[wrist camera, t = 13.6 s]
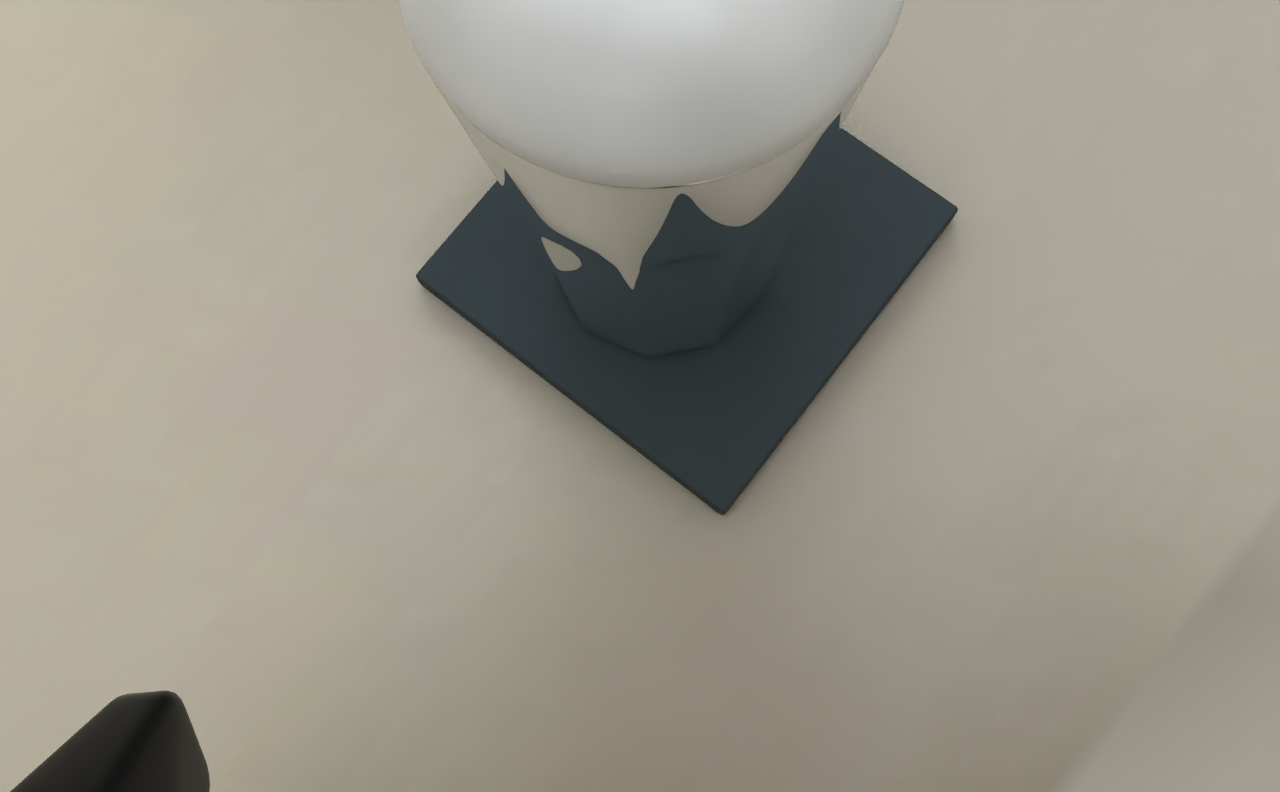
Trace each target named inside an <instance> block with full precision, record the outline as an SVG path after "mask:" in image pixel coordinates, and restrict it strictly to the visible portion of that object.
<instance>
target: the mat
mask: <svg viewBox="0 0 1280 792" xmlns="http://www.w3.org/2000/svg"><path fill="white" fill-rule="evenodd" d="M957 209H958V208H957V207H956V206H955V205H953V204H952V203H950V202H949V201H947V200H946V199H944V198H943V197H941V196H940V195H938V194H937V193H935V192H934V191H933V190H931V189H930V188H928V187H927V186H925V185H924V184H922V183H921V182H919V181H918V180H916V179H915V178H914V177H912V176H911V175H909V174H908V173H906V172H905V171H903V170H902V169H900V168H899V167H897V166H896V165H895V164H893V163H892V162H890V161H889V160H887V159H886V158H884V157H883V156H881V155H880V154H878V153H877V152H875V151H874V150H873V149H871V148H870V147H868V146H867V145H865V144H864V143H862V142H861V141H859V140H858V139H856V138H855V137H854V136H852V135H851V134H849V133H848V132H846V131H845V130H843V129H842V128H841V129H840V130H839V132H838V134H837V136H836V138H835V140H834V142H833V143H832V145H831V147H830V149H829V151H828V153H827V155H826V156H825V158H824V160H823V162H822V164H821V166H820V168H819V170H818V172H817V175H816V177H815V179H814V182H813V184H812V186H811V188H810V191H809V193H808V195H807V197H806V200H805V202H804V204H803V206H802V208H801V211H800V213H799V215H798V217H797V219H796V222H795V224H794V226H793V228H792V230H791V233H790V235H789V237H788V239H787V241H786V243H785V246H784V248H783V250H782V252H781V254H780V256H779V259H778V261H777V263H776V265H775V267H774V269H773V272H772V274H771V276H770V278H769V280H768V282H767V285H766V287H765V289H764V291H763V293H762V295H761V297H760V299H759V300H758V301H757V302H756V303H755V304H754V305H753V306H752V307H751V308H750V309H749V310H748V311H747V312H746V313H745V314H744V315H743V316H742V317H741V318H740V319H739V320H738V321H737V322H736V323H735V324H734V325H733V326H732V327H731V328H730V329H729V330H728V331H727V332H726V333H725V334H724V335H723V336H722V337H721V339H720V340H719V341H718V342H717V343H716V344H715V345H714V346H712V347H706V348H700V349H694V350H689V351H683V352H677V353H672V354H666V355H661V356H656V357H650V358H645V357H643V356H641V355H639V354H636V353H634V352H632V351H630V350H628V349H626V348H624V347H621V346H619V345H617V344H615V343H613V342H611V341H608V340H606V339H604V338H602V337H600V336H597V335H595V334H593V333H591V332H589V331H587V330H585V328H584V327H583V325H582V323H581V322H580V320H579V318H578V316H577V314H576V312H575V310H574V308H573V306H572V305H571V303H570V301H569V299H568V297H567V295H566V294H565V292H564V290H563V288H562V286H561V285H560V283H559V281H558V279H557V277H556V276H555V274H554V272H553V270H552V269H551V267H550V265H549V263H548V261H547V259H546V257H545V255H544V254H543V252H542V250H541V248H540V246H539V244H538V242H537V240H536V239H535V237H534V235H533V233H532V231H531V229H530V227H529V226H528V224H527V222H526V221H525V219H524V218H523V216H522V215H521V213H520V212H519V210H518V209H517V207H516V206H515V204H514V203H513V202H512V200H511V199H510V197H509V196H508V194H507V193H506V192H505V190H504V189H503V187H502V186H501V184H500V183H499V182H498V180H497V182H496V183H495V184H494V185H493V186H492V187H491V188H490V190H489V191H488V192H487V193H486V194H485V195H484V197H483V198H482V199H481V200H480V201H479V202H478V204H477V205H476V206H475V207H474V208H473V209H472V210H471V212H470V213H469V214H468V215H467V216H466V217H465V219H464V220H463V221H462V222H461V223H460V224H459V226H458V227H457V228H456V229H455V230H454V231H453V232H452V234H451V235H450V236H449V237H448V238H447V239H446V241H445V242H444V243H443V244H442V245H441V246H440V248H439V249H438V250H437V251H436V252H435V253H434V255H433V256H432V257H431V258H430V259H429V260H428V261H427V263H426V264H425V265H424V266H423V267H422V268H421V270H420V271H419V272H418V273H417V275H416V277H417V279H418V281H419V282H420V284H421V285H422V286H424V287H425V288H426V289H428V290H429V291H430V292H431V293H433V294H434V295H435V296H437V297H438V298H439V299H441V300H442V301H443V302H444V303H446V304H447V305H448V306H450V307H451V308H452V309H454V310H455V311H456V312H457V313H459V314H460V315H461V316H463V317H464V318H465V319H467V320H468V321H469V322H471V323H472V324H473V325H474V326H476V327H477V328H478V329H480V330H481V331H482V332H484V333H485V334H486V335H487V336H489V337H490V338H491V339H493V340H494V341H495V342H497V343H498V344H499V345H501V346H502V347H503V348H504V349H506V350H507V351H508V352H510V353H511V354H512V355H514V356H515V357H516V358H517V359H519V360H520V361H521V362H523V363H524V364H525V365H527V366H528V367H529V368H531V369H532V370H533V371H534V372H536V373H537V374H538V375H540V376H541V377H542V378H544V379H545V380H546V381H547V382H549V383H550V384H551V385H553V386H554V387H555V388H557V389H558V390H559V391H561V392H562V393H563V394H564V395H566V396H567V397H568V398H570V399H571V400H572V401H574V402H575V403H576V404H577V405H579V406H580V407H581V408H583V409H584V410H585V411H587V412H588V413H589V414H590V415H592V416H593V417H594V418H596V419H597V420H598V421H600V422H601V423H602V424H604V425H605V426H606V427H607V428H609V429H610V430H611V431H613V432H614V433H615V434H617V435H618V436H619V437H620V438H622V439H623V440H624V441H626V442H627V443H628V444H630V445H631V446H632V447H634V448H635V449H636V450H637V451H639V452H640V453H641V454H643V455H644V456H645V457H647V458H648V459H649V460H650V461H652V462H653V463H654V464H656V465H657V466H658V467H660V468H661V469H662V470H664V471H665V472H666V473H667V474H669V475H670V476H671V477H673V478H674V479H675V480H677V481H678V482H679V483H680V484H682V485H683V486H684V487H686V488H687V489H688V490H690V491H691V492H692V493H694V494H695V495H696V496H697V497H699V498H700V499H701V500H703V501H704V502H705V503H707V504H708V505H709V506H710V507H712V508H713V509H714V510H716V511H717V512H718V513H720V514H722V515H723V514H725V513H726V512H727V510H728V509H729V508H730V507H731V505H732V504H733V503H734V501H735V500H736V499H737V498H738V496H739V495H740V494H741V492H742V491H743V490H744V488H745V487H746V486H747V485H748V483H749V482H750V481H751V479H752V478H753V477H754V475H755V474H756V473H757V472H758V470H759V469H760V468H761V466H762V465H763V464H764V463H765V461H766V460H767V459H768V457H769V456H770V455H771V453H772V452H773V451H774V450H775V448H776V447H777V446H778V444H779V443H780V442H781V440H782V439H783V438H784V437H785V435H786V434H787V433H788V431H789V430H790V429H791V428H792V426H793V425H794V424H795V422H796V421H797V420H798V418H799V417H800V416H801V415H802V413H803V412H804V411H805V409H806V408H807V407H808V405H809V404H810V403H811V402H812V400H813V399H814V398H815V396H816V395H817V394H818V393H819V391H820V390H821V389H822V387H823V386H824V385H825V383H826V382H827V381H828V380H829V378H830V377H831V376H832V374H833V373H834V372H835V370H836V369H837V368H838V367H839V365H840V364H841V363H842V361H843V360H844V359H845V358H846V356H847V355H848V354H849V352H850V351H851V350H852V348H853V347H854V346H855V345H856V343H857V342H858V341H859V339H860V338H861V337H862V335H863V334H864V333H865V332H866V330H867V329H868V328H869V326H870V325H871V324H872V323H873V321H874V320H875V319H876V317H877V316H878V315H879V313H880V312H881V311H882V310H883V308H884V307H885V306H886V304H887V303H888V302H889V300H890V299H891V298H892V297H893V295H894V294H895V293H896V291H897V290H898V289H899V288H900V286H901V285H902V284H903V282H904V281H905V280H906V278H907V277H908V276H909V275H910V273H911V272H912V271H913V269H914V268H915V267H916V266H917V264H918V263H919V262H920V260H921V259H922V258H923V256H924V255H925V254H926V253H927V251H928V250H929V249H930V247H931V246H932V245H933V243H934V242H935V241H936V240H937V238H938V237H939V236H940V234H941V233H942V232H943V231H944V229H945V228H946V227H947V225H948V224H949V223H950V221H951V220H952V219H953V217H954V216H955V214H956V212H957Z"/></svg>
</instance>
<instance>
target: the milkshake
mask: <svg viewBox="0 0 1280 792" xmlns="http://www.w3.org/2000/svg"><path fill="white" fill-rule="evenodd" d="M399 3H400V7H401V11H402V15H403V18H404V21H405V24H406V27H407V30H408V33H409V35H410V38H411V40H412V43H413V45H414V47H415V50H416V52H417V54H418V56H419V58H420V60H421V62H422V63H423V65H424V67H425V69H426V70H427V72H428V73H429V75H430V77H431V78H432V80H433V81H434V83H435V85H436V86H437V88H438V90H439V91H440V93H441V94H442V96H443V97H444V99H445V100H446V102H447V104H448V105H449V107H450V108H451V110H452V111H453V113H454V114H455V116H456V117H457V119H458V121H459V122H460V124H461V125H462V127H463V128H464V130H465V131H466V133H467V135H468V136H469V138H470V139H471V141H472V142H473V144H474V145H475V147H476V148H477V150H478V151H479V153H480V155H481V156H482V158H483V159H484V161H485V162H486V164H487V165H488V167H489V168H490V170H491V171H492V173H493V174H494V176H495V177H496V179H497V180H498V182H499V183H500V184H501V186H502V187H503V189H504V190H505V192H506V193H507V194H508V196H509V197H510V199H511V200H512V202H513V203H514V204H515V206H516V207H517V209H518V210H519V212H520V213H521V215H522V216H523V218H524V219H525V221H526V222H527V224H528V226H529V227H530V229H531V231H532V233H533V235H534V237H535V239H536V240H537V242H538V244H539V246H540V248H541V250H542V252H543V254H544V255H545V257H546V259H547V261H548V263H549V265H550V267H551V269H552V270H553V272H554V274H555V276H556V277H557V279H558V281H559V283H560V285H561V286H562V288H563V290H564V292H565V294H566V295H567V297H568V299H569V301H570V303H571V305H572V306H573V308H574V310H575V312H576V314H577V316H578V318H579V320H580V322H581V323H582V325H583V327H584V328H585V330H587V331H589V332H591V333H593V334H595V335H597V336H600V337H602V338H604V339H606V340H608V341H611V342H613V343H615V344H617V345H619V346H621V347H624V348H626V349H628V350H630V351H632V352H634V353H636V354H639V355H641V356H643V357H645V358H650V357H656V356H661V355H666V354H672V353H677V352H683V351H689V350H694V349H700V348H706V347H712V346H714V345H715V344H716V343H717V342H718V341H719V340H720V339H721V337H722V336H723V335H724V334H725V333H726V332H727V331H728V330H729V329H730V328H731V327H732V326H733V325H734V324H735V323H736V322H737V321H738V320H739V319H740V318H741V317H742V316H743V315H744V314H745V313H746V312H747V311H748V310H749V309H750V308H751V307H752V306H753V305H754V304H755V303H756V302H757V301H758V300H759V299H760V297H761V295H762V293H763V291H764V289H765V287H766V285H767V282H768V280H769V278H770V276H771V274H772V272H773V269H774V267H775V265H776V263H777V261H778V259H779V256H780V254H781V252H782V250H783V248H784V246H785V243H786V241H787V239H788V237H789V235H790V233H791V230H792V228H793V226H794V224H795V222H796V219H797V217H798V215H799V213H800V211H801V208H802V206H803V204H804V202H805V200H806V197H807V195H808V193H809V191H810V188H811V186H812V184H813V182H814V179H815V177H816V175H817V172H818V170H819V168H820V166H821V164H822V162H823V160H824V158H825V156H826V155H827V153H828V151H829V149H830V147H831V145H832V143H833V142H834V140H835V138H836V136H837V134H838V132H839V130H840V129H841V127H842V125H843V123H844V121H845V119H846V117H847V116H848V114H849V112H850V110H851V108H852V106H853V105H854V103H855V101H856V99H857V97H858V95H859V93H860V92H861V90H862V88H863V86H864V84H865V82H866V81H867V79H868V77H869V75H870V73H871V71H872V69H873V68H874V66H875V64H876V63H877V61H878V60H879V58H880V57H881V55H882V53H883V52H884V50H885V48H886V46H887V44H888V42H889V40H890V38H891V36H892V34H893V32H894V29H895V27H896V24H897V22H898V19H899V16H900V13H901V10H902V6H903V3H904V0H399Z"/></svg>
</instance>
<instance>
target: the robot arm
mask: <svg viewBox="0 0 1280 792" xmlns="http://www.w3.org/2000/svg"><path fill="white" fill-rule="evenodd" d="M209 790H210V781H209V772H208V767H207V763H206V760H205V758H204V755H203V753H202V750H201V747H200V745H199V742H198V740H197V737H196V734H195V732H194V729H193V727H192V724H191V721H190V719H189V716H188V714H187V711H186V708H185V706H184V704H183V702H182V700H181V699H180V697H179V696H178V695H177V694H175V693H174V692H170V691H156V692H144V693H133V694H126V695H122V696H119V697H117V698H116V699H114V700H113V701H111V702H110V703H109V704H108V705H107V706H105V707H104V708H103V709H102V710H101V711H100V712H99V713H98V714H97V715H95V716H94V717H93V718H92V719H91V720H90V721H89V722H88V723H86V724H85V725H84V726H83V727H82V728H81V729H80V730H79V731H78V732H76V733H75V734H74V735H73V736H72V737H71V738H70V739H69V740H67V741H66V742H65V743H64V744H63V745H62V746H61V747H60V748H59V749H57V750H56V751H55V752H54V753H53V754H52V755H51V756H50V757H49V758H47V759H46V760H45V761H44V762H43V763H42V764H41V765H40V766H38V767H37V768H36V769H35V770H34V771H33V772H32V773H31V774H30V775H28V776H27V777H26V778H25V779H24V780H23V781H22V782H21V783H19V784H18V785H17V786H16V787H15V788H14V789H13V790H12V791H11V792H209Z"/></svg>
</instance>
